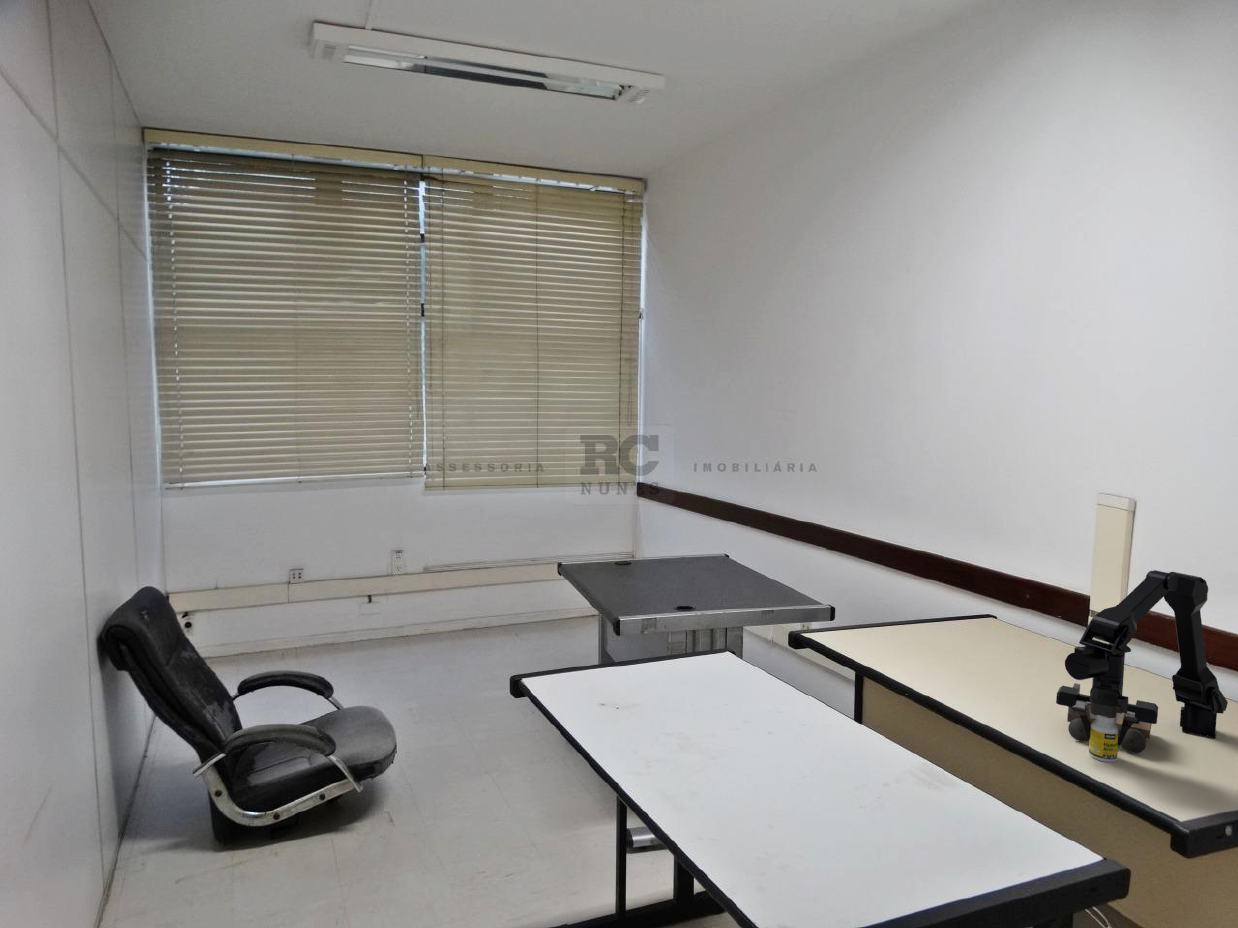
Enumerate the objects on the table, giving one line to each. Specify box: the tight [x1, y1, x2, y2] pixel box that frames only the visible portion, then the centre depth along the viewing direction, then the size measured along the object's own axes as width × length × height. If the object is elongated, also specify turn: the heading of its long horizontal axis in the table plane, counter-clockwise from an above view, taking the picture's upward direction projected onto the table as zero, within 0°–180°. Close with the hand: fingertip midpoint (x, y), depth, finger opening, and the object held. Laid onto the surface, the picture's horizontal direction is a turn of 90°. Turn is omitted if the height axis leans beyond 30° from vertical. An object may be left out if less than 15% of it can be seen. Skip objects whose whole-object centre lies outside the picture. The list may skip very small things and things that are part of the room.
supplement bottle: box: [1088, 715, 1120, 763], centre depth 176 cm, size 5×5×10 cm
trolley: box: [1066, 682, 1153, 754], centre depth 187 cm, size 16×15×9 cm
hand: (1103, 741), depth 176 cm, fingers closed on supplement bottle, 5 cm apart
